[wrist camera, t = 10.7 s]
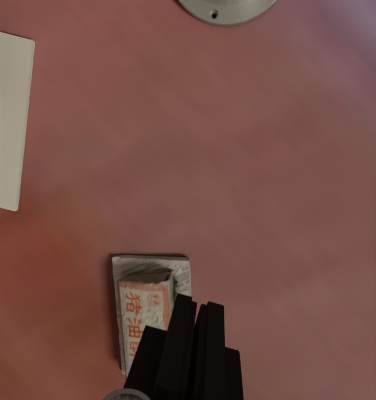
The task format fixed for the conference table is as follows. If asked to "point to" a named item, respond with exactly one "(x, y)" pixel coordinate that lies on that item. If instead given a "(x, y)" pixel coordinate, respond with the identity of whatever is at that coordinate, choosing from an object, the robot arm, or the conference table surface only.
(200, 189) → the conference table surface
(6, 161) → the mat
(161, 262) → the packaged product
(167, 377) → the robot arm
